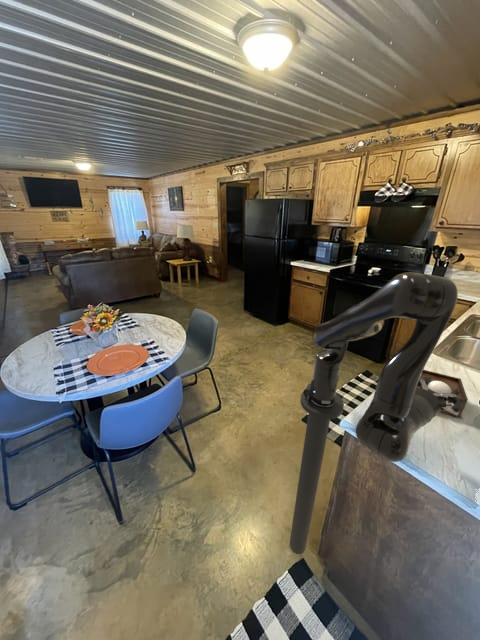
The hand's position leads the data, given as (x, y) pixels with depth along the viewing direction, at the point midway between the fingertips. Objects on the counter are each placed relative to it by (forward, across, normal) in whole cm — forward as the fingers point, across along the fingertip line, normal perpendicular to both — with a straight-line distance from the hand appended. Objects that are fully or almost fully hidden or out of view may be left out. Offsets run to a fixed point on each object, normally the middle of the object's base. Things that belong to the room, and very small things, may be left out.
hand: (442, 385), depth 76 cm
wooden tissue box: (+24, +7, +21) cm, 32 cm away
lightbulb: (-2, 0, +9) cm, 10 cm away
